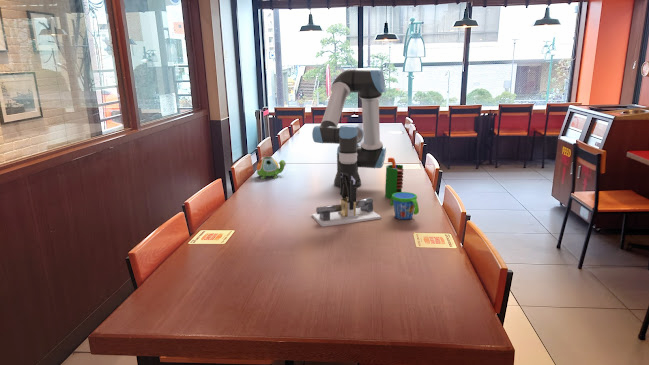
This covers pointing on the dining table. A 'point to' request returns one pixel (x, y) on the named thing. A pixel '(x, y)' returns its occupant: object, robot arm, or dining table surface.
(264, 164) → the turtle holder
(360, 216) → the base plate
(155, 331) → the dining table surface
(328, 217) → the shaft
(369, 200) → the shaft
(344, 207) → the block
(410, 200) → the snack cup
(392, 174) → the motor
